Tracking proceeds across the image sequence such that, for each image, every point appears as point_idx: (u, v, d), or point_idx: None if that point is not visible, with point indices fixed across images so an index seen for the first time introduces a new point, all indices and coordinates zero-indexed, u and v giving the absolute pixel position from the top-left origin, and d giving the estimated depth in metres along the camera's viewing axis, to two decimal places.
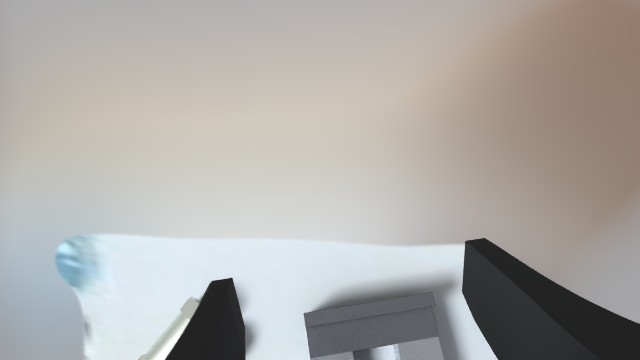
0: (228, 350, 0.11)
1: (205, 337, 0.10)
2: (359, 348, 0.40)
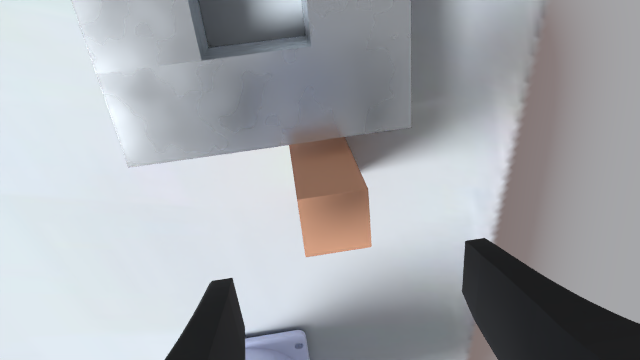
0: (228, 350, 0.11)
1: (205, 337, 0.10)
2: None
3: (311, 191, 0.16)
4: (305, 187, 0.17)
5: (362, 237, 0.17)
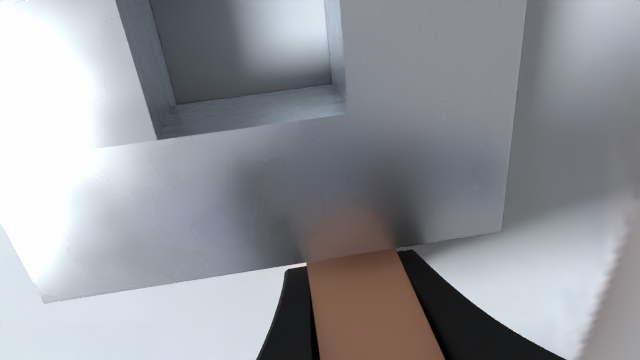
0: (314, 336, 0.11)
1: (300, 321, 0.10)
2: None
3: None
4: None
5: None
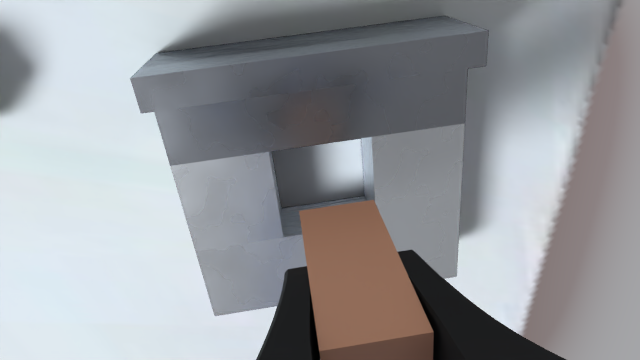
0: (314, 336, 0.11)
1: (300, 321, 0.10)
2: (284, 146, 0.18)
3: (341, 330, 0.10)
4: (330, 321, 0.10)
5: None
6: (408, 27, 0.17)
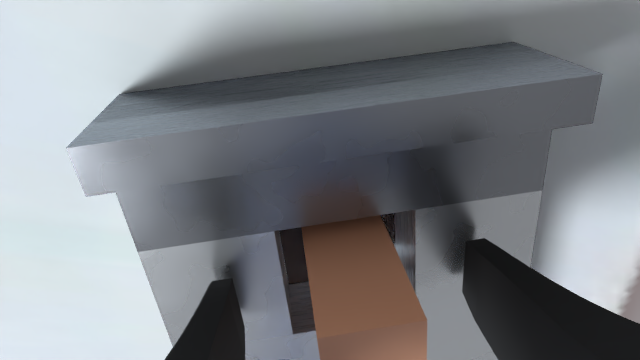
0: (228, 350, 0.11)
1: (205, 337, 0.10)
2: (296, 224, 0.13)
3: (338, 318, 0.11)
4: (327, 310, 0.11)
5: None
6: (471, 61, 0.12)
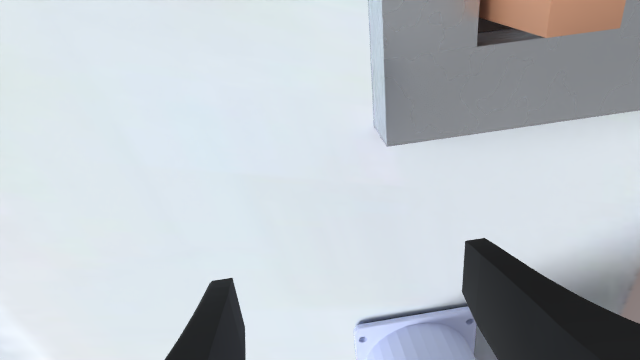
0: (228, 350, 0.11)
1: (205, 337, 0.10)
2: None
3: None
4: None
5: (614, 13, 0.15)
6: None
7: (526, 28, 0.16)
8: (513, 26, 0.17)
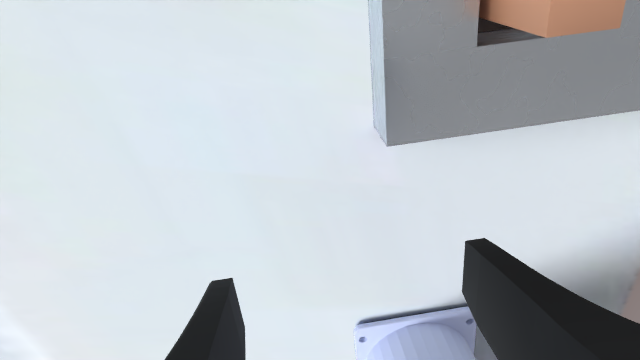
0: (228, 350, 0.11)
1: (205, 337, 0.10)
2: None
3: None
4: None
5: (614, 13, 0.15)
6: None
7: (526, 28, 0.16)
8: (513, 26, 0.17)
